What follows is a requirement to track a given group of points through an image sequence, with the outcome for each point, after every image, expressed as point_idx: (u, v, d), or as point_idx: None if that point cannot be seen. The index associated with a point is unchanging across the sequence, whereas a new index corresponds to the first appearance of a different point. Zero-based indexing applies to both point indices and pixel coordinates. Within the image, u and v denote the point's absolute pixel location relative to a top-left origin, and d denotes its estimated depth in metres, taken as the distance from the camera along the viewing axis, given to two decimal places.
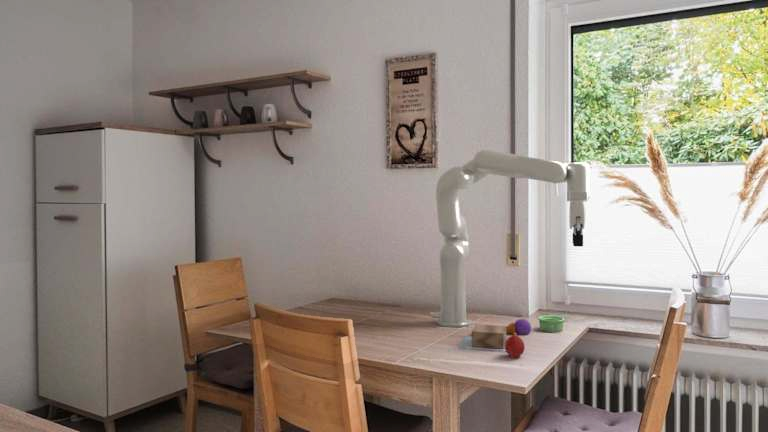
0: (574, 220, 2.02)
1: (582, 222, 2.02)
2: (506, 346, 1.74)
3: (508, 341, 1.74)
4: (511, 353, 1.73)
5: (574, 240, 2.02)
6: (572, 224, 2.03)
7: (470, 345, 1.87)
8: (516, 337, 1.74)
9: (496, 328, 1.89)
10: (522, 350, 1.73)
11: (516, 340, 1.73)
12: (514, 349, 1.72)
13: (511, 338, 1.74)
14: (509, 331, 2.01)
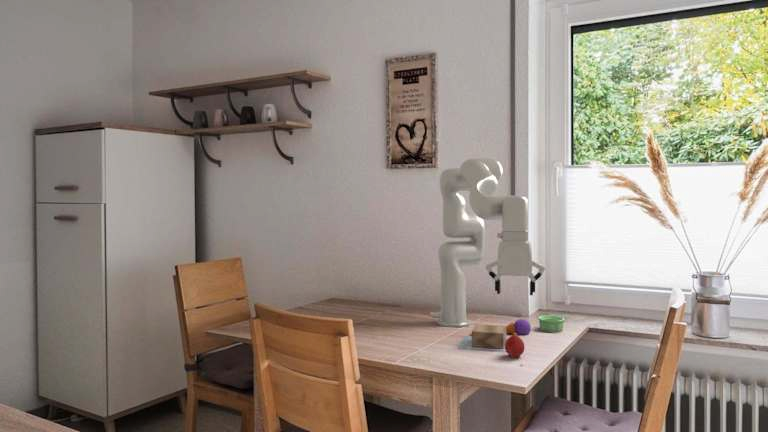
0: (532, 265, 1.71)
1: None
2: (506, 346, 1.74)
3: (508, 341, 1.74)
4: (511, 353, 1.73)
5: (532, 288, 1.71)
6: (531, 270, 1.70)
7: (470, 345, 1.87)
8: (516, 337, 1.74)
9: (496, 328, 1.89)
10: (522, 350, 1.73)
11: (516, 340, 1.73)
12: (514, 349, 1.72)
13: (511, 338, 1.74)
14: (509, 331, 2.01)
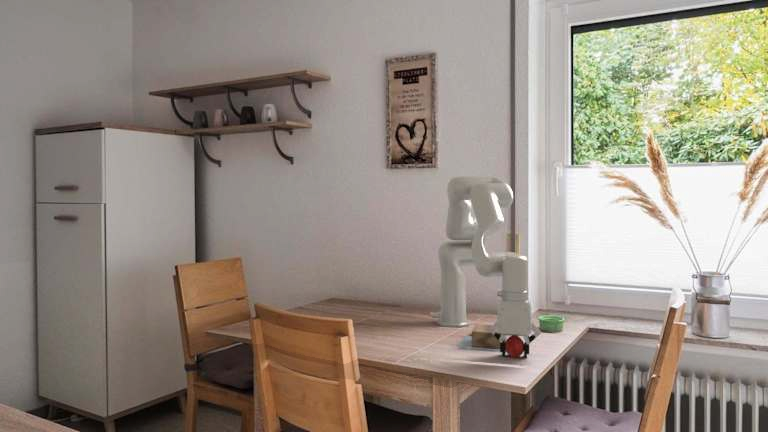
0: (531, 324, 1.72)
1: None
2: (506, 346, 1.74)
3: (508, 341, 1.74)
4: (511, 353, 1.73)
5: (526, 350, 1.73)
6: (531, 330, 1.71)
7: (470, 345, 1.87)
8: (516, 337, 1.74)
9: (496, 328, 1.89)
10: (522, 350, 1.73)
11: (516, 340, 1.73)
12: (514, 349, 1.72)
13: (511, 338, 1.74)
14: None
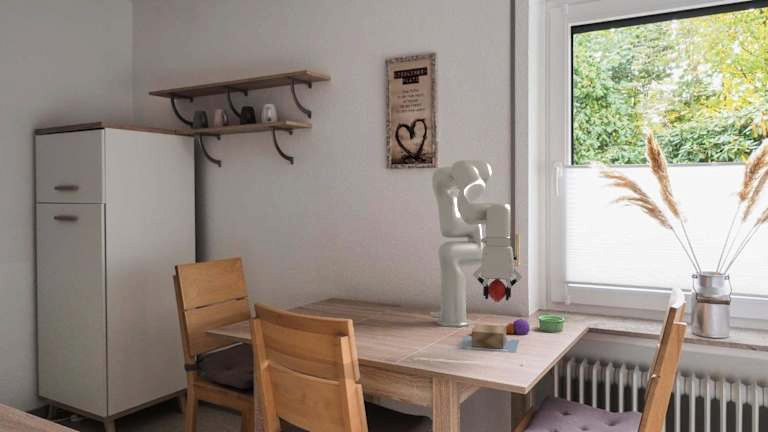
0: (513, 269, 1.80)
1: None
2: (489, 290, 1.83)
3: (491, 285, 1.82)
4: (493, 296, 1.82)
5: (508, 294, 1.81)
6: (513, 274, 1.80)
7: (470, 345, 1.87)
8: (498, 281, 1.82)
9: (496, 328, 1.89)
10: (504, 293, 1.82)
11: (498, 283, 1.82)
12: (497, 292, 1.81)
13: (494, 282, 1.82)
14: (507, 331, 2.02)
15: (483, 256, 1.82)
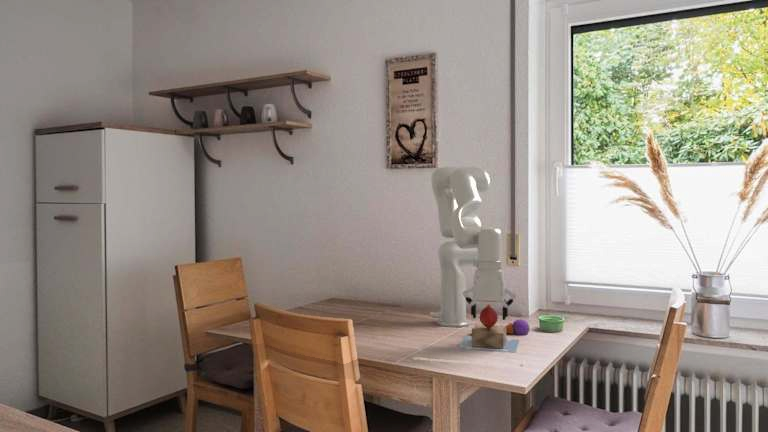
0: (504, 292, 1.85)
1: None
2: (480, 316, 1.88)
3: (482, 312, 1.88)
4: (485, 323, 1.87)
5: (504, 313, 1.86)
6: (504, 296, 1.85)
7: (470, 345, 1.87)
8: (490, 308, 1.88)
9: (496, 328, 1.89)
10: (495, 320, 1.87)
11: (490, 311, 1.87)
12: (488, 319, 1.86)
13: (485, 309, 1.88)
14: (507, 331, 2.01)
15: (475, 279, 1.87)
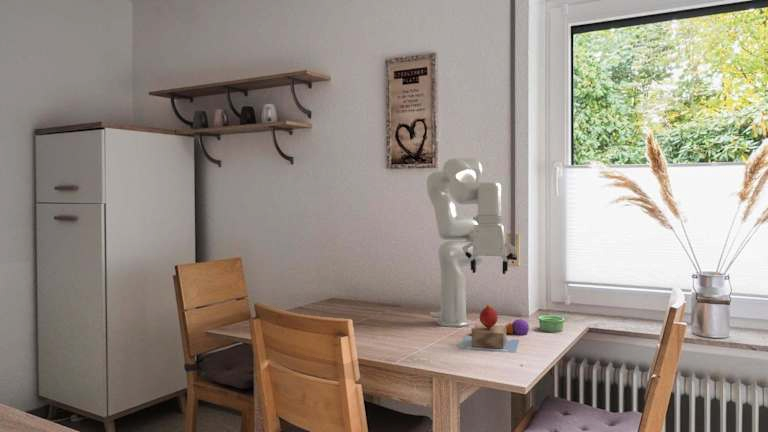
0: (504, 246, 1.85)
1: None
2: (480, 317, 1.88)
3: (482, 312, 1.88)
4: (485, 323, 1.87)
5: (504, 267, 1.85)
6: (504, 250, 1.84)
7: (470, 345, 1.87)
8: (490, 308, 1.88)
9: (496, 328, 1.89)
10: (495, 320, 1.87)
11: (490, 311, 1.87)
12: (488, 319, 1.86)
13: (485, 309, 1.88)
14: (507, 331, 2.01)
15: (475, 234, 1.86)
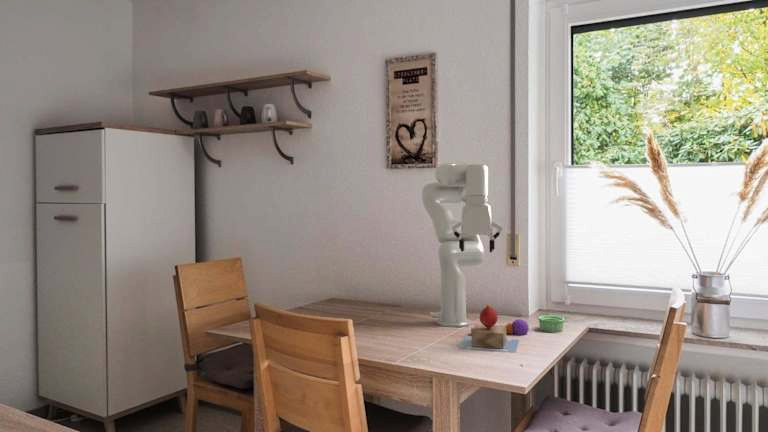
0: (491, 225, 1.93)
1: None
2: (480, 317, 1.88)
3: (482, 312, 1.88)
4: (485, 323, 1.87)
5: (491, 246, 1.93)
6: (491, 229, 1.92)
7: (470, 345, 1.87)
8: (490, 308, 1.88)
9: (496, 328, 1.89)
10: (495, 320, 1.87)
11: (490, 311, 1.87)
12: (488, 319, 1.86)
13: (485, 309, 1.88)
14: (506, 331, 2.01)
15: (463, 213, 1.94)
